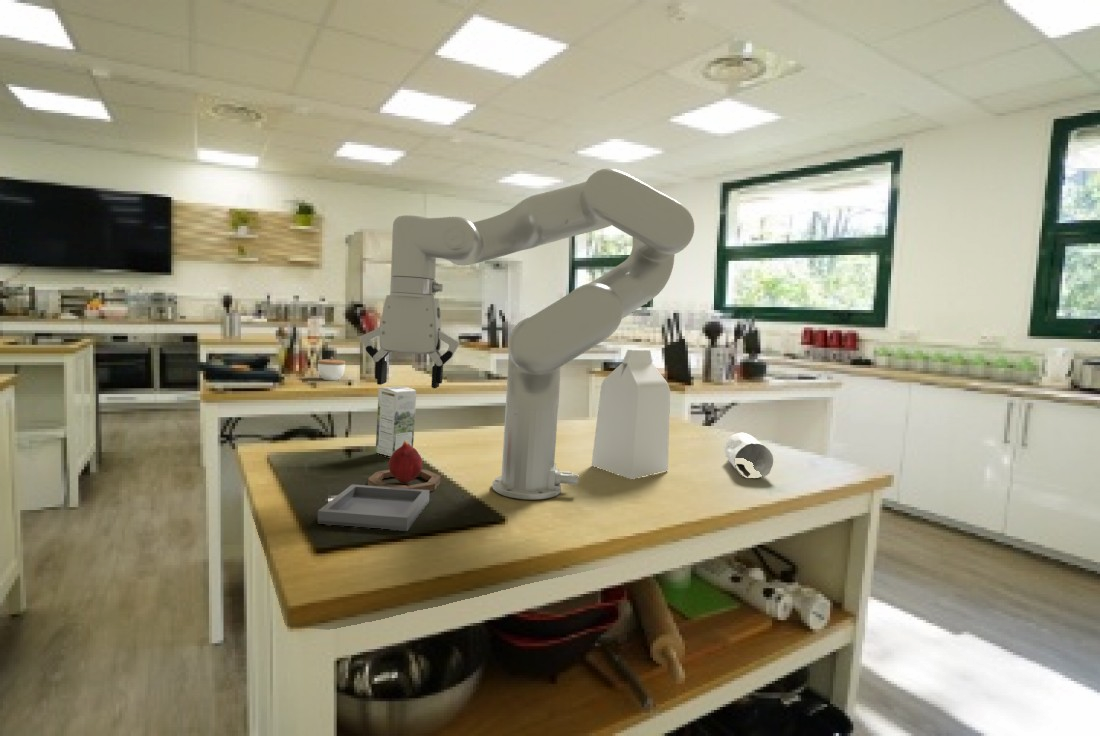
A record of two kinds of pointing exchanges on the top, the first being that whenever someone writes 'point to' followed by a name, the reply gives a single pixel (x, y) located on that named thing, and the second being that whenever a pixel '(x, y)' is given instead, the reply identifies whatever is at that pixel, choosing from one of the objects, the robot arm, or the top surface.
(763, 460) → the tipped white cup
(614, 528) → the top surface
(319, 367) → the lidded jar
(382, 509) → the dish
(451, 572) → the top surface
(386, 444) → the syrup box
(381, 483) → the ring
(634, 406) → the milk
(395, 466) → the onion
